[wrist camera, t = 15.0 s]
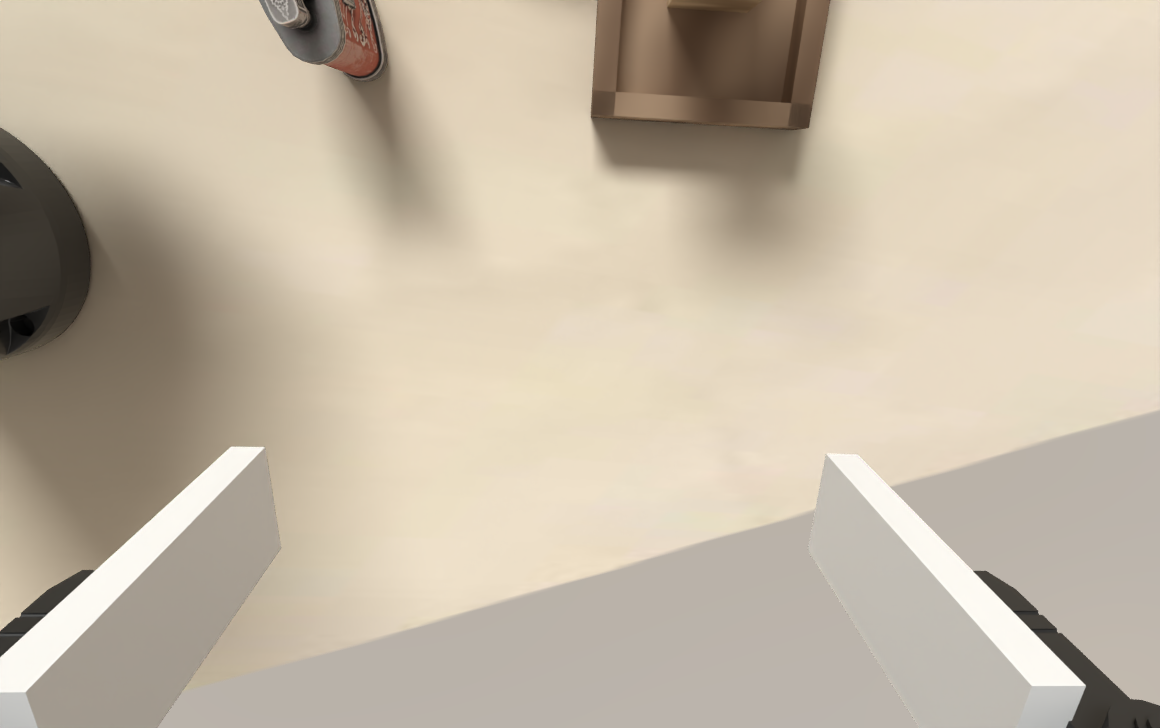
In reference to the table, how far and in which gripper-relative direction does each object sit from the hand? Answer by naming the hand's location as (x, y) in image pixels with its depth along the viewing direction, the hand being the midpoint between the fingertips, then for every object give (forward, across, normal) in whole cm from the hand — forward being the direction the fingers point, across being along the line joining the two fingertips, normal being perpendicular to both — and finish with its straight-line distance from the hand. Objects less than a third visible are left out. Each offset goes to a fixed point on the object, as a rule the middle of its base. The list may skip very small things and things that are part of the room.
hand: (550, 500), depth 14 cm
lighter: (+26, -12, +15) cm, 33 cm away
